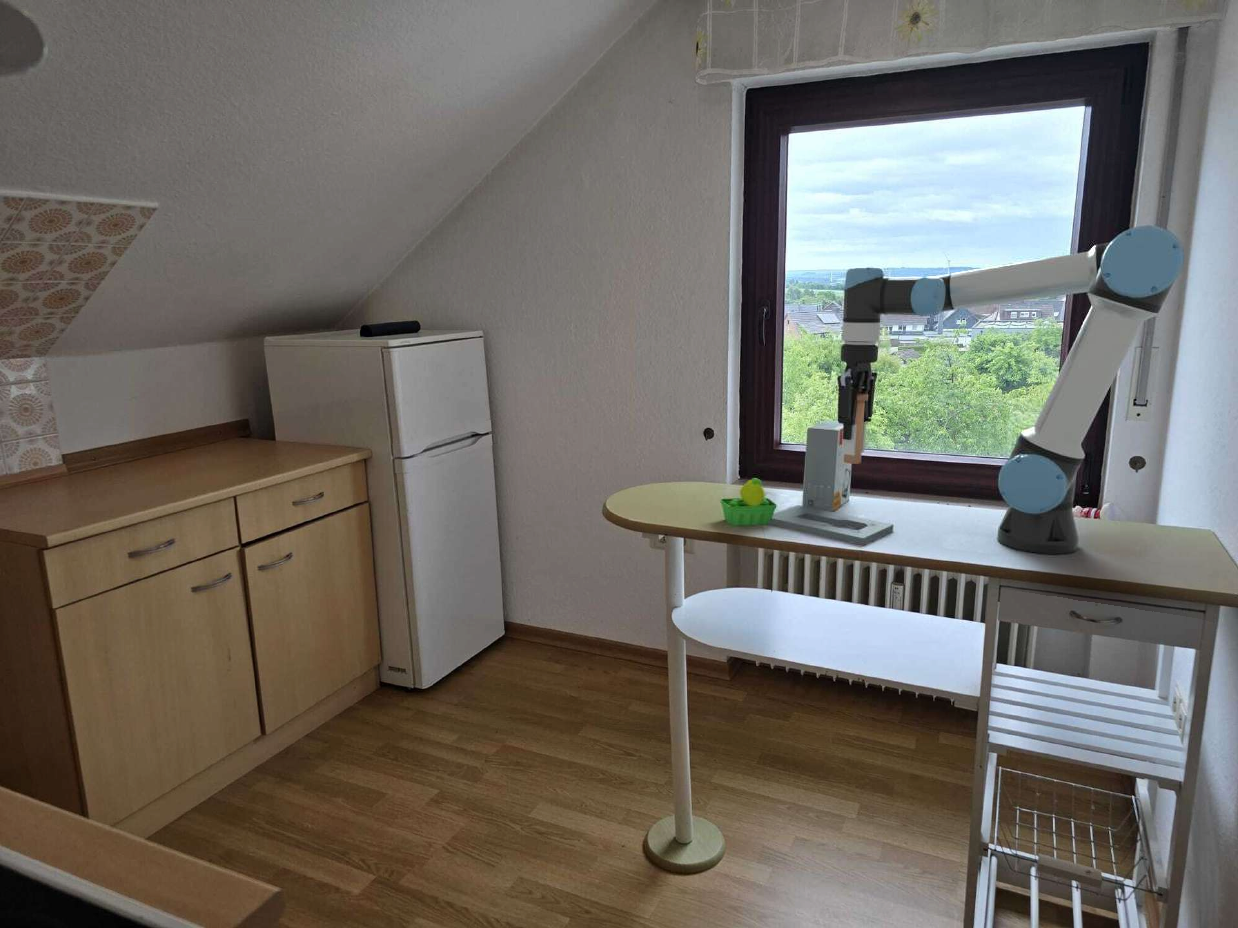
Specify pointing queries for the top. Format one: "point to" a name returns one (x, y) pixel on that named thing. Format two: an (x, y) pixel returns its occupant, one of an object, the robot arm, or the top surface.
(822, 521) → the keyhole board
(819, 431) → the hard drive box
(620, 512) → the top surface
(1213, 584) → the top surface
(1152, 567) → the top surface
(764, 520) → the fruit basket
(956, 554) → the top surface
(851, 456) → the peg
